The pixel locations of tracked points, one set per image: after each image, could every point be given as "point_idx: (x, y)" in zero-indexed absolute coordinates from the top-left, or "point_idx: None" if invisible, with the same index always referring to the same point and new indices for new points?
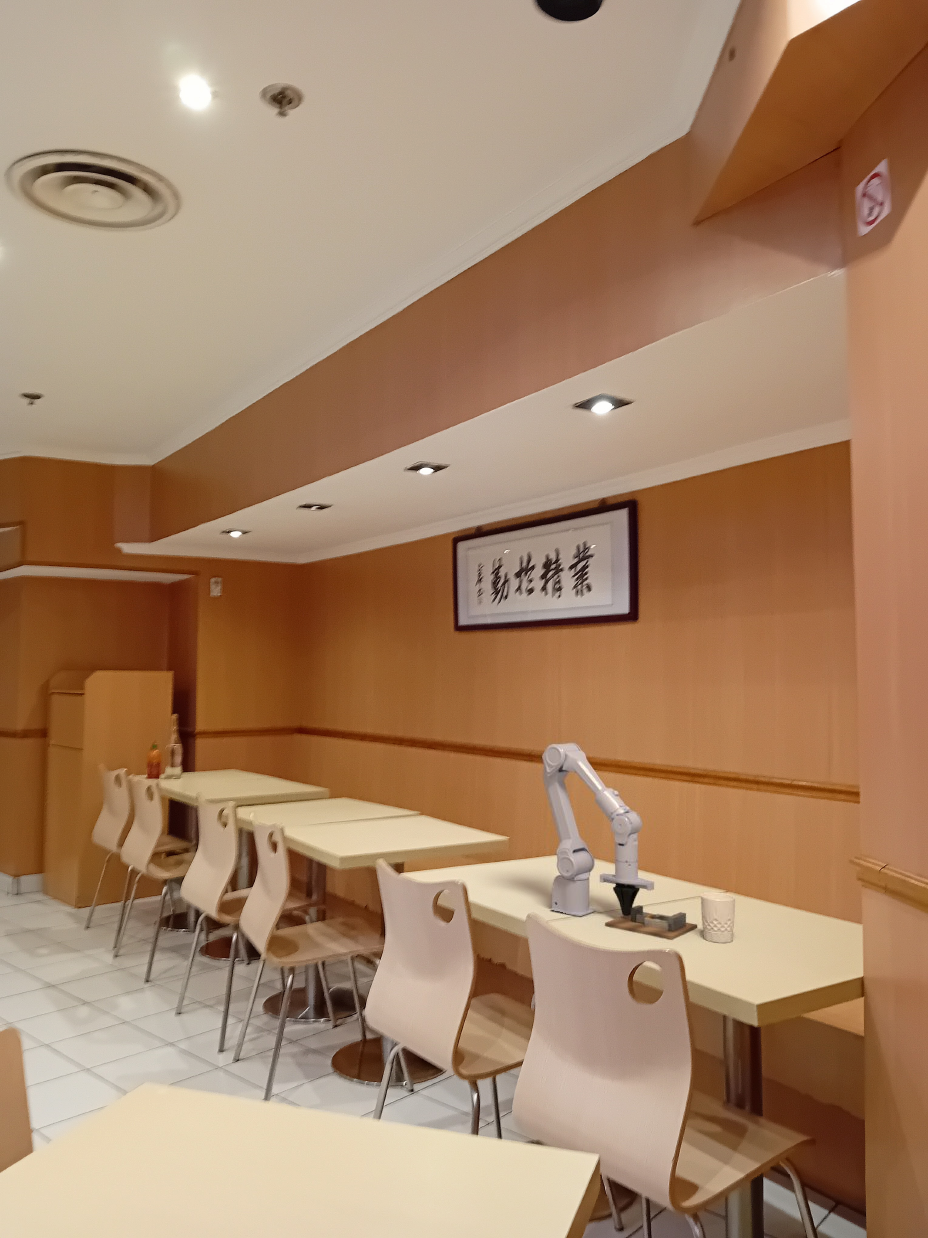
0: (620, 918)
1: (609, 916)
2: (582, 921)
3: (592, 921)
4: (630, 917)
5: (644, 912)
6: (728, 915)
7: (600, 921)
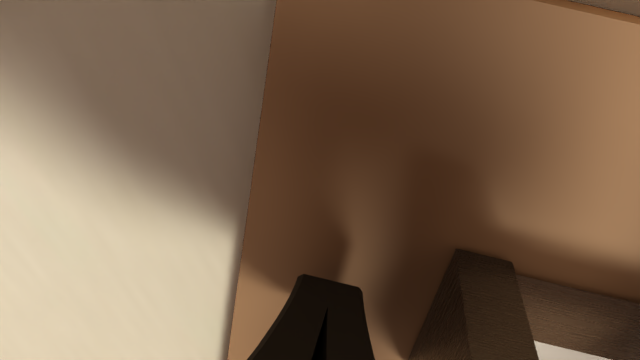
0: (269, 294)
1: (86, 122)
2: (26, 351)
3: (78, 329)
4: (350, 225)
5: (555, 355)
6: None
7: (125, 310)
